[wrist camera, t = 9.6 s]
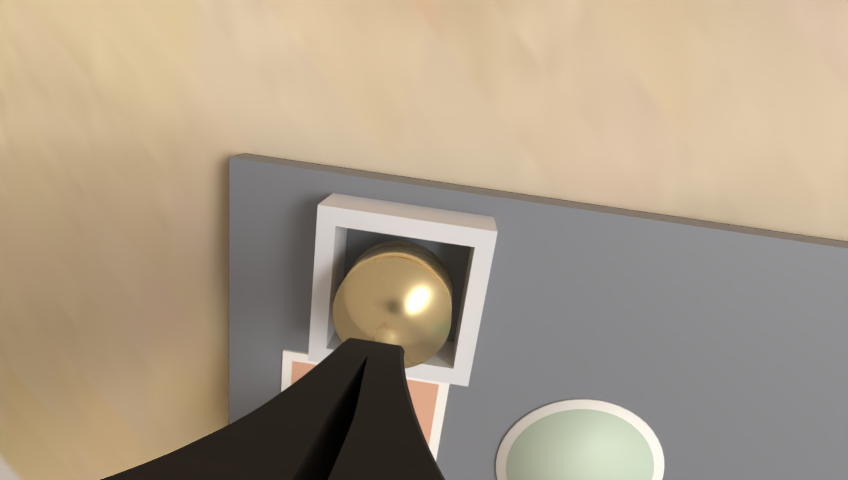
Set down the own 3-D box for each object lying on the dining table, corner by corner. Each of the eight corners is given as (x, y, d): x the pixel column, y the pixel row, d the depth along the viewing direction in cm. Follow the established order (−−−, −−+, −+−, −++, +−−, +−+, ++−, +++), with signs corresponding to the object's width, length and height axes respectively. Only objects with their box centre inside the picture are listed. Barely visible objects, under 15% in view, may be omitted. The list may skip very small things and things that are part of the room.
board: (788, 548, 20) (842, 622, 18) (241, 455, 21) (207, 511, 18) (939, 255, 16) (1042, 289, 13) (244, 153, 17) (201, 165, 14)
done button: (444, 344, 16) (441, 377, 14) (344, 328, 16) (328, 359, 14) (460, 249, 15) (460, 271, 13) (352, 232, 15) (337, 252, 13)
